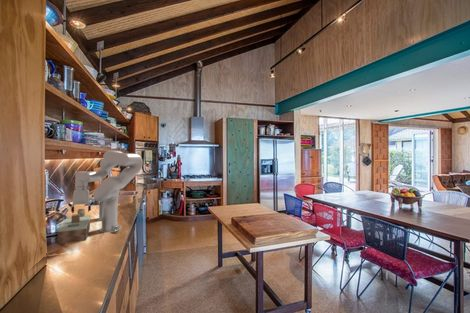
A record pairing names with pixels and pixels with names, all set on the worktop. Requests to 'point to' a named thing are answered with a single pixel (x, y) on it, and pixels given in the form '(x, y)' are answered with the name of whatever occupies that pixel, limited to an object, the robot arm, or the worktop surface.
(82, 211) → the block
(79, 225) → the lid
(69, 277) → the worktop surface
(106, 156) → the robot arm
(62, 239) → the brown open box
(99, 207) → the coffee box
